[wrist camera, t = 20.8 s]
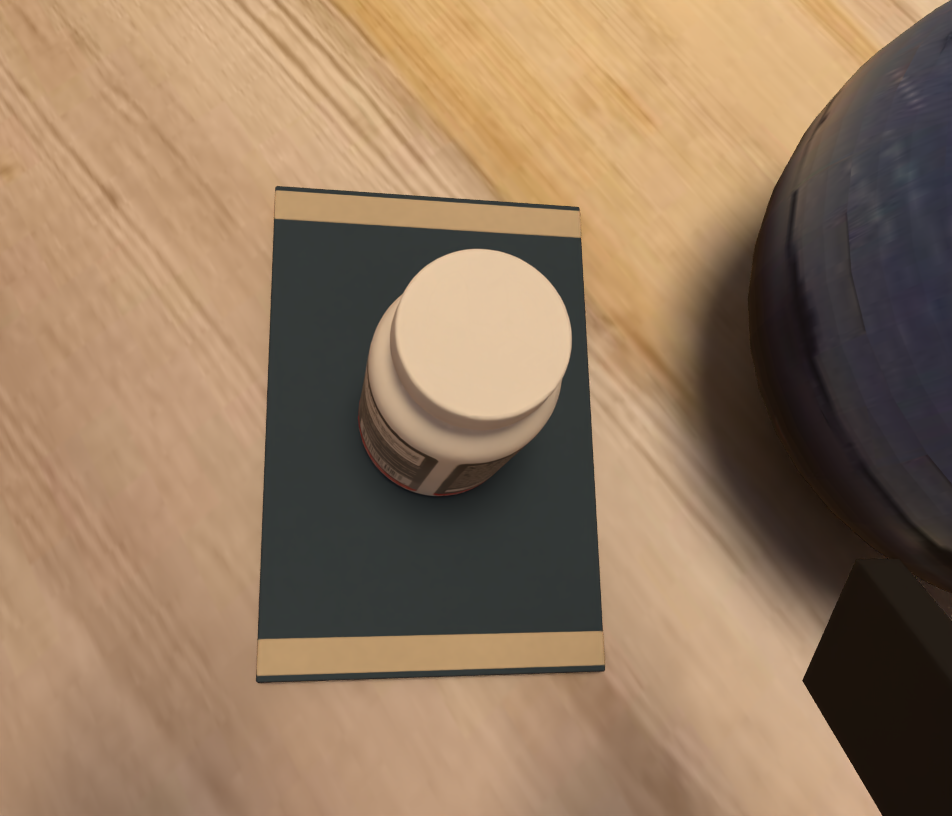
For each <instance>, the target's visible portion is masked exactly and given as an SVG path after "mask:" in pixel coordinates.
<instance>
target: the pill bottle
mask: <svg viewBox="0 0 952 816" xmlns="http://www.w3.org/2000/svg"><path fill="white" fill-rule="evenodd" d="M571 347H572V334H571V325H570V320H569V317H568V314H567V311H566V308H565V305H564V303H563V301H562V299H561V297H560V295H559V294H558V293H557V291H556V289H555V288H554V287H553V286H552V284H551V283H550V282H549V281H548V280H547V279H546V277H545V276H543V275H542V274H541V273H540V272H539V271H538V270H536V269H535V268H534V267H533V266H531V265H529V264H528V263H526V262H524V261H523V260H521V259H519V258H517V257H515V256H512V255H510V254H506V253H503V252H500V251H494V250H487V249H467V250H461V251H457V252H453V253H450V254H447V255H445V256H442V257H440V258H438V259H436V260H434V261H433V262H431V263H430V264H428V265H427V266H425V267H424V268H423V269H422V270H421V271H419V273H418V274H417V275H416V276H415V277H414V278H413V279H412V280H411V282H410V283H409V284H408V286H407V287H406V289H405V291H404V293H403V294H402V295H401V296H400V297H398V298H397V299H396V300H395V301H394V302H393V303H392V305H391V306H390V307H389V308H388V309H387V311H386V312H385V313H384V315H383V317H382V318H381V320H380V322H379V324H378V326H377V328H376V330H375V333H374V336H373V339H372V342H371V345H370V349H369V355H368V360H367V366H366V372H365V377H364V382H363V388H362V393H361V398H360V402H359V416H358V421H359V429H360V434H361V438H362V442H363V444H364V447H365V449H366V451H367V453H368V455H369V457H370V458H371V460H372V461H373V463H374V464H375V466H376V467H377V468H378V469H379V470H380V471H381V472H382V473H383V474H384V475H385V476H386V477H387V478H388V479H390V480H391V481H392V482H394V483H396V484H397V485H399V486H401V487H403V488H405V489H407V490H410V491H412V492H415V493H419V494H423V495H429V496H448V495H455V494H459V493H463V492H465V491H468V490H470V489H473V488H475V487H477V486H478V485H480V484H482V483H483V482H485V481H486V480H488V479H489V478H490V477H491V476H493V475H494V474H495V473H496V472H497V471H498V470H499V469H500V468H501V467H502V466H504V465H505V464H506V463H507V462H508V461H509V460H510V459H511V458H512V457H514V456H515V455H516V454H517V453H518V452H519V451H520V450H521V449H522V448H523V447H525V446H526V445H527V444H528V443H529V442H530V441H531V440H532V439H533V438H534V437H535V436H536V435H537V434H538V433H539V432H540V430H541V429H542V428H543V427H544V425H545V424H546V422H547V421H548V419H549V418H550V416H551V414H552V412H553V410H554V408H555V406H556V403H557V400H558V397H559V393H560V389H561V382H562V378H563V376H564V374H565V372H566V369H567V366H568V363H569V359H570V354H571Z"/></svg>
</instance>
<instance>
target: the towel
mask: <svg viewBox="0 0 952 816" xmlns="http://www.w3.org/2000/svg"><path fill="white" fill-rule="evenodd" d="M467 249H487V250H494V251H500V252H503V253H506V254H510V255H512V256H515V257H517V258H519V259H521V260H523V261H524V262H526V263H528V264H529V265H531V266H533V267H534V268H535V269H536V270H538V271H539V272H540V273H541V274H542V275H543V276H545V277H546V279H547V280H548V281H549V282H550V283H551V284H552V286H553V287H554V288H555V289H556V291H557V293H558V294H559V295H560V297H561V299H562V301H563V303H564V305H565V308H566V311H567V314H568V317H569V320H570V325H571V334H572V347H571V354H570V359H569V363H568V366H567V369H566V372H565V374H564V376H563V378H562V382H561V389H560V393H559V397H558V400H557V403H556V406H555V408H554V410H553V412H552V414H551V416H550V418H549V419H548V421H547V422H546V424H545V425H544V427H543V428H542V429H541V430H540V432H539V433H538V434H537V435H536V436H535V437H534V438H533V439H532V440H531V441H530V442H529V443H528V444H527V445H526V446H525V447H523V448H522V449H521V450H520V451H519V452H518V453H517V454H516V455H515V456H514V457H512V458H511V459H510V460H509V461H508V462H507V463H506V464H505V465H504V466H502V467H501V468H500V469H499V470H498V471H497V472H496V473H495V474H494V475H493V476H491V477H490V478H489V479H488V480H486V481H485V482H483V483H482V484H480V485H478V486H477V487H475V488H473V489H470V490H468V491H465V492H463V493H459V494H455V495H448V496H429V495H423V494H419V493H415V492H412V491H410V490H407V489H405V488H403V487H401V486H399V485H397V484H396V483H394V482H392V481H391V480H390V479H388V478H387V477H386V476H385V475H384V474H383V473H382V472H381V471H380V470H379V469H378V468H377V467H376V466H375V464H374V463H373V461H372V460H371V458H370V457H369V455H368V453H367V451H366V449H365V447H364V444H363V442H362V438H361V434H360V429H359V421H358V416H359V402H360V398H361V393H362V388H363V382H364V377H365V372H366V366H367V360H368V355H369V349H370V345H371V342H372V339H373V336H374V333H375V330H376V328H377V326H378V324H379V322H380V320H381V318H382V317H383V315H384V313H385V312H386V311H387V309H388V308H389V307H390V306H391V305H392V303H393V302H394V301H395V300H396V299H397V298H398V297H400V296H401V295H402V294H403V293H404V291H405V289H406V287H407V286H408V284H409V283H410V282H411V280H412V279H413V278H414V277H415V276H416V275H417V274H418V273H419V271H421V270H422V269H423V268H424V267H425V266H427V265H428V264H430V263H431V262H433V261H434V260H436V259H438V258H440V257H442V256H445V255H447V254H450V253H453V252H457V251H461V250H467ZM600 671H605V656H604V638H603V626H602V608H601V589H600V571H599V553H598V535H597V517H596V499H595V481H594V463H593V445H592V427H591V409H590V391H589V373H588V355H587V337H586V319H585V300H584V282H583V264H582V246H581V222H580V210H579V207H571V206H556V205H542V204H528V203H513V202H499V201H484V200H470V199H455V198H441V197H426V196H412V195H398V194H383V193H369V192H354V191H340V190H325V189H311V188H297V187H282V186H276V188H275V209H274V237H273V262H272V288H271V313H270V339H269V364H268V390H267V416H266V441H265V467H264V492H263V518H262V543H261V569H260V594H259V620H258V644H257V669H256V681H257V682H258V683H264V682H294V681H325V680H356V679H386V678H417V677H447V676H478V675H509V674H539V673H570V672H600Z"/></svg>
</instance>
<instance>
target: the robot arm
mask: <svg viewBox="0 0 952 816" xmlns="http://www.w3.org/2000/svg"><path fill="white" fill-rule="evenodd" d="M802 681H803V683H804V684H805V686H806V688H807V689H808V691H809V693H810V694H811V696H812V698H813V699H814V701H815V703H816V704H817V706H818V708H819V709H820V711H821V713H822V715H823V716H824V718H825V720H826V721H827V723H828V725H829V726H830V728H831V730H832V731H833V733H834V735H835V736H836V738H837V740H838V741H839V743H840V745H841V747H842V748H843V750H844V752H845V753H846V755H847V757H848V758H849V760H850V762H851V763H852V765H853V767H854V768H855V770H856V772H857V773H858V775H859V777H860V779H861V780H862V782H863V784H864V785H865V787H866V789H867V790H868V792H869V794H870V795H871V797H872V799H873V800H874V802H875V804H876V805H877V807H878V809H879V811H880V812H881V814H882V816H952V621H951V620H950V619H949V617H948V616H947V615H946V614H945V613H944V612H943V610H942V609H941V608H940V607H939V606H938V604H937V603H936V602H935V601H934V600H933V598H932V597H931V596H930V595H929V594H928V593H927V591H926V590H925V589H924V588H923V587H922V585H921V584H920V583H919V582H918V581H917V579H916V578H915V577H914V576H913V575H912V574H911V572H910V571H909V570H908V569H907V568H906V566H905V565H904V564H903V563H902V562H901V561H900V559H856V560H855V563H854V565H853V567H852V570H851V572H850V574H849V576H848V579H847V581H846V583H845V585H844V588H843V590H842V592H841V594H840V597H839V599H838V601H837V603H836V606H835V608H834V610H833V613H832V615H831V617H830V619H829V622H828V624H827V626H826V628H825V631H824V633H823V635H822V637H821V640H820V642H819V644H818V647H817V649H816V651H815V653H814V656H813V658H812V660H811V662H810V665H809V667H808V669H807V671H806V674H805V676H804V678H803V680H802Z"/></svg>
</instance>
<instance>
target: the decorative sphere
mask: <svg viewBox="0 0 952 816" xmlns="http://www.w3.org/2000/svg"><path fill="white" fill-rule="evenodd" d="M748 311H749V331H750V349H751V354H752V358H753V363H754V367H755V372H756V377H757V381H758V386H759V390H760V393H761V396H762V398H763V401H764V403H765V406H766V409H767V411H768V414H769V416H770V419H771V421H772V424H773V426H774V429H775V431H776V433H777V435H778V437H779V439H780V440H781V442H782V444H783V445H784V447H785V449H786V451H787V452H788V454H789V456H790V457H791V459H792V461H793V462H794V464H795V466H796V468H797V469H798V471H799V472H800V474H801V475H802V476H803V477H804V478H805V480H806V481H807V482H808V483H809V485H810V486H811V487H812V488H813V489H814V491H815V492H816V493H817V494H818V496H819V497H820V498H821V499H822V500H823V502H824V503H825V504H826V505H827V507H828V508H829V509H830V510H831V511H832V512H833V513H834V514H835V515H836V516H837V517H838V518H839V519H840V520H842V521H843V522H844V523H845V524H846V525H847V526H848V527H849V528H851V529H852V530H853V531H854V532H855V533H856V534H857V535H858V536H860V537H861V538H862V539H863V540H864V541H865V542H866V543H867V544H869V545H870V546H871V547H873V548H874V549H875V550H877V551H878V552H880V553H881V554H883V555H884V556H886V557H887V558H889V559H900V561H901V562H902V563H903V564H904V565H905V566H906V568H907V569H908V570H909V571H910V572H911V573H913V574H914V575H916V576H917V577H919V578H921V579H922V580H924V581H926V582H928V583H930V584H932V585H934V586H936V587H938V588H941V589H943V590H946V591H948V592H950V593H952V0H950V1H949V2H947V3H945V4H943V5H942V6H940V7H938V8H936V9H935V10H934V11H932V12H931V13H930V14H928V15H927V16H925V17H924V18H923V19H921V20H920V21H918V22H917V23H916V24H914V25H913V26H912V27H910V28H909V29H908V30H906V31H905V32H904V33H902V34H901V35H900V36H898V37H897V38H896V39H894V40H893V41H892V42H890V43H889V44H888V45H886V46H885V47H884V48H882V49H881V50H880V51H878V52H877V53H876V54H875V55H874V56H873V57H871V58H870V59H869V60H868V61H867V62H866V63H865V64H864V65H862V66H861V67H860V68H859V69H858V70H857V72H856V73H855V74H854V75H853V76H852V77H851V78H850V79H849V80H848V81H847V82H846V84H845V85H844V86H843V87H842V88H841V89H840V90H839V92H838V93H837V94H836V95H835V96H834V97H833V99H832V100H831V101H830V102H829V103H828V104H827V105H826V107H825V108H824V109H823V110H822V111H821V112H820V114H819V115H818V116H817V117H816V118H815V120H814V121H813V122H812V124H811V125H810V127H809V128H808V129H807V131H806V132H805V133H804V135H803V137H802V139H801V140H800V142H799V144H798V146H797V148H796V149H795V151H794V153H793V155H792V157H791V158H790V160H789V162H788V164H787V166H786V167H785V169H784V171H783V173H782V175H781V177H780V178H779V180H778V182H777V184H776V186H775V187H774V190H773V192H772V195H771V198H770V200H769V203H768V206H767V209H766V213H765V216H764V219H763V222H762V225H761V228H760V231H759V234H758V238H757V241H756V244H755V249H754V255H753V262H752V270H751V278H750V286H749V294H748Z"/></svg>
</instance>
